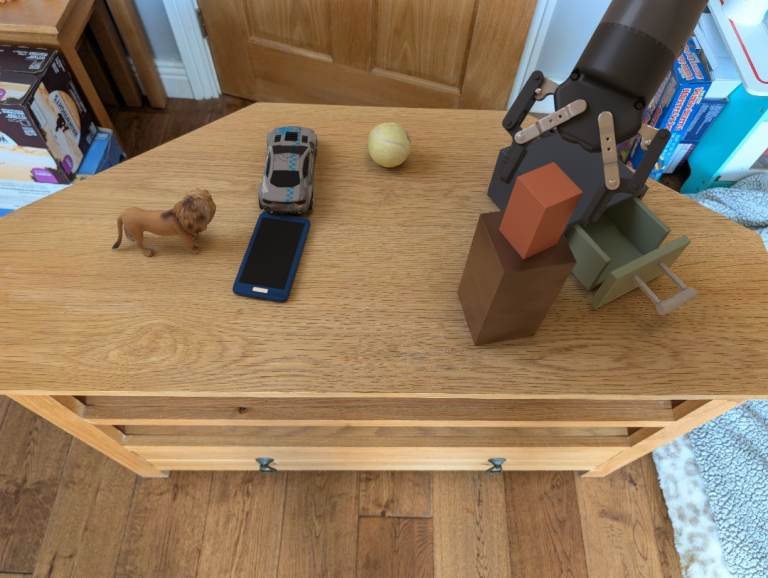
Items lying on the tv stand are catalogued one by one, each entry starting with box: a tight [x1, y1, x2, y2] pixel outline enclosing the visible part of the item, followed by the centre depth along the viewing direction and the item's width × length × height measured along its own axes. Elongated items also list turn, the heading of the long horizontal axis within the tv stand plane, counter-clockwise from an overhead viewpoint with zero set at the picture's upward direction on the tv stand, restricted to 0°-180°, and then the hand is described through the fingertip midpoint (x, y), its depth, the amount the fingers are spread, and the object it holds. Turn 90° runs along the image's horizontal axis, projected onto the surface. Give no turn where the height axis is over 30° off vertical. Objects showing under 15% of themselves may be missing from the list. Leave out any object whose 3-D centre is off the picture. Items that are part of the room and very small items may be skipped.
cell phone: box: [231, 211, 312, 303], centre depth 75 cm, size 7×14×1 cm, turn 171°
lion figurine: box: [111, 187, 217, 258], centre depth 72 cm, size 15×5×9 cm, turn 103°
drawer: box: [566, 197, 698, 316], centre depth 73 cm, size 19×12×7 cm, turn 29°
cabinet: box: [486, 133, 650, 238], centre depth 78 cm, size 15×14×9 cm
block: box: [499, 162, 583, 260], centre depth 55 cm, size 4×4×8 cm
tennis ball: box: [365, 121, 412, 168], centre depth 83 cm, size 6×7×7 cm
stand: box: [456, 210, 577, 346], centre depth 65 cm, size 8×8×16 cm
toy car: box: [258, 125, 319, 215], centre depth 81 cm, size 8×17×5 cm, turn 1°
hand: (542, 202), depth 54 cm, fingers open, 8 cm apart
